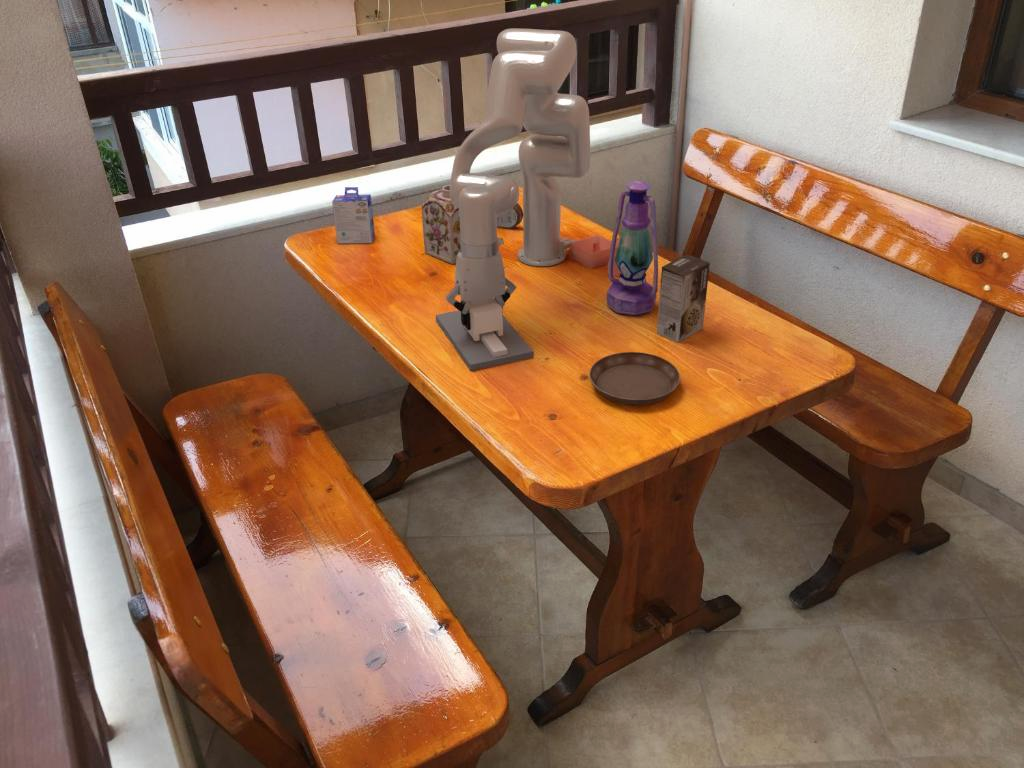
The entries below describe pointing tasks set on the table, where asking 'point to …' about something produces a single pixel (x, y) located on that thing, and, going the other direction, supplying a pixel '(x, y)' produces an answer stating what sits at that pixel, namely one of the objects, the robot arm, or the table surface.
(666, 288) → the coffee box
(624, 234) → the lantern
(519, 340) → the rail board
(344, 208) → the ink cartridge box
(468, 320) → the robot arm
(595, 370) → the plant saucer
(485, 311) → the block
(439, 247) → the decorative jar
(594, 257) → the pottery
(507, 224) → the tin
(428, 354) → the table surface
